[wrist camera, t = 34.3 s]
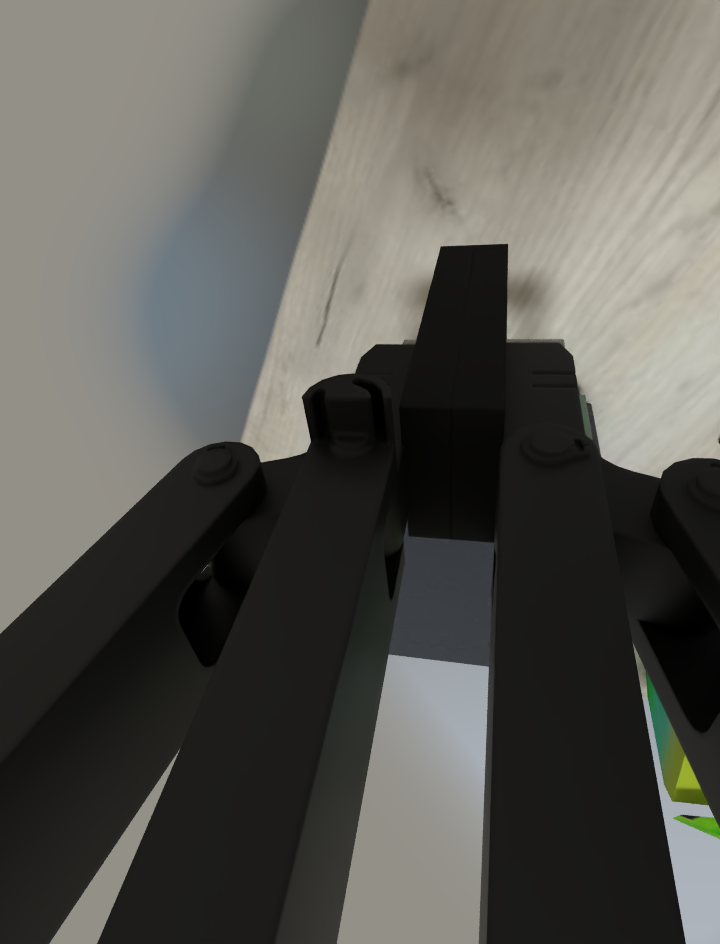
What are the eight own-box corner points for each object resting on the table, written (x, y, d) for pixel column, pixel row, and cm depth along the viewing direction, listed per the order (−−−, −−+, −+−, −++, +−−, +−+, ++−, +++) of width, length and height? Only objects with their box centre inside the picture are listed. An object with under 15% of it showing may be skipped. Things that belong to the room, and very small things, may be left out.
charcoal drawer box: (380, 399, 36) (350, 496, 29) (591, 403, 33) (611, 512, 26) (395, 552, 45) (375, 652, 38) (561, 566, 42) (570, 677, 36)
